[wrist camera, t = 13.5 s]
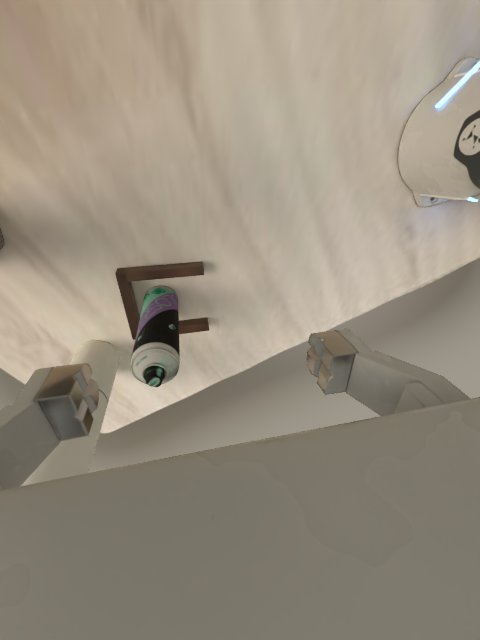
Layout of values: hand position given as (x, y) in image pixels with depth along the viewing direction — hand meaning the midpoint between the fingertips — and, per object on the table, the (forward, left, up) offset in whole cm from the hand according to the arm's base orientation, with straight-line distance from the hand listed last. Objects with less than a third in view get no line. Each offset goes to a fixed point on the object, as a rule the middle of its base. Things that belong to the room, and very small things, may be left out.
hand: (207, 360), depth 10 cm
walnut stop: (+5, +14, -35) cm, 38 cm away
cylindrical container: (+18, +24, -35) cm, 46 cm away
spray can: (+5, +14, -35) cm, 38 cm away
